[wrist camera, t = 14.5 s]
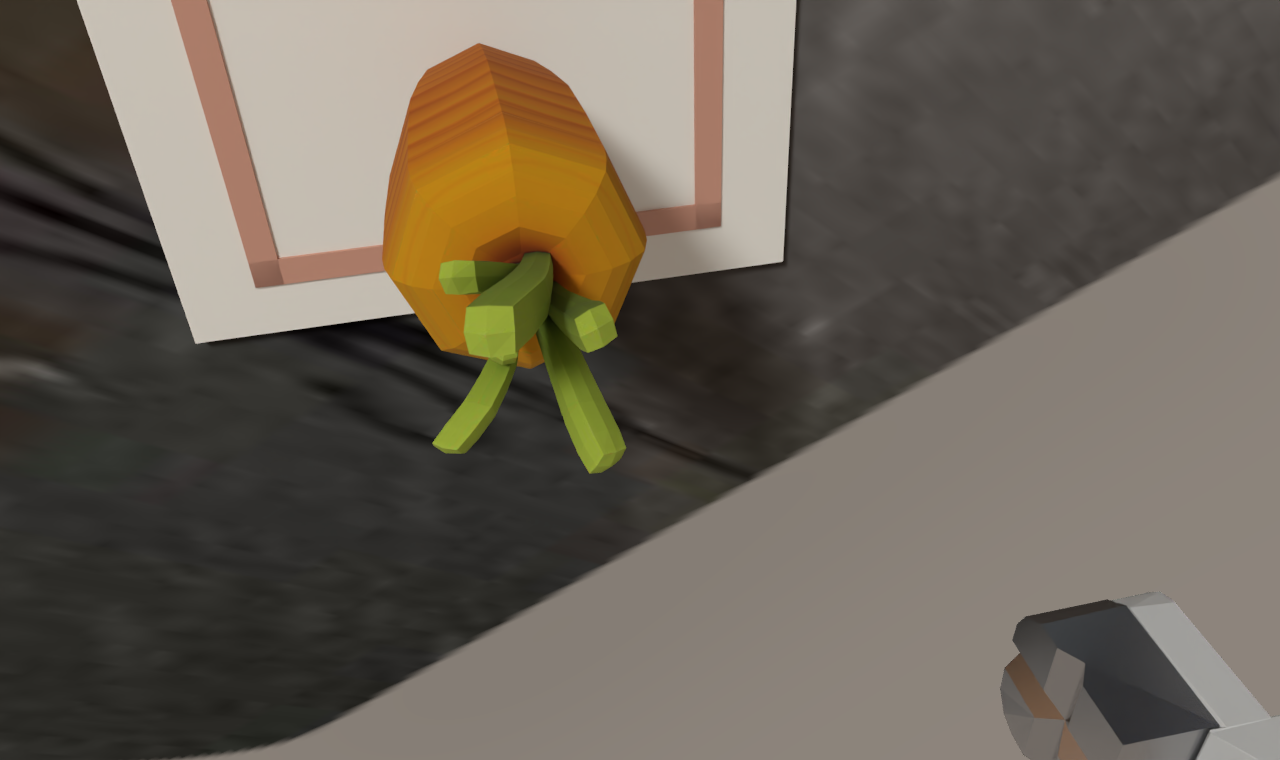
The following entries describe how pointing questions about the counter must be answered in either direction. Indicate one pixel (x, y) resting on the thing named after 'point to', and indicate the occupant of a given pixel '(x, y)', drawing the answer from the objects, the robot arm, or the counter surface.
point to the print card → (373, 120)
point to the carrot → (511, 237)
